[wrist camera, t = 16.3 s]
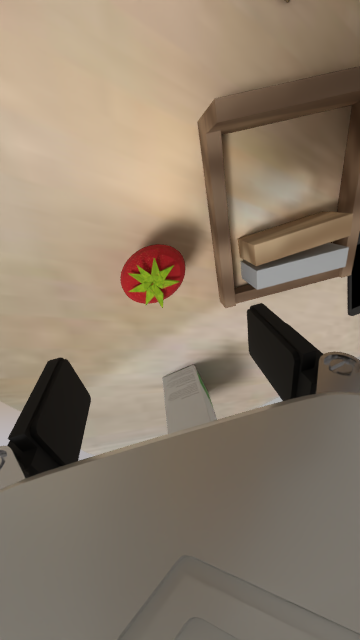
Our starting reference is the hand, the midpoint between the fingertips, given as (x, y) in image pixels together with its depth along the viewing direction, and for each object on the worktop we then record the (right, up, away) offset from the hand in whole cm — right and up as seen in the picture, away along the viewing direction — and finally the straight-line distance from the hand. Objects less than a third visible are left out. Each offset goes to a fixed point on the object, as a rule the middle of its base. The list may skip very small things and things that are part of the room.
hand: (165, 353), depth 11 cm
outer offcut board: (+15, +11, +21) cm, 28 cm away
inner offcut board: (+14, +13, +19) cm, 27 cm away
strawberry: (-3, +9, +18) cm, 20 cm away
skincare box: (+2, -10, +29) cm, 31 cm away
